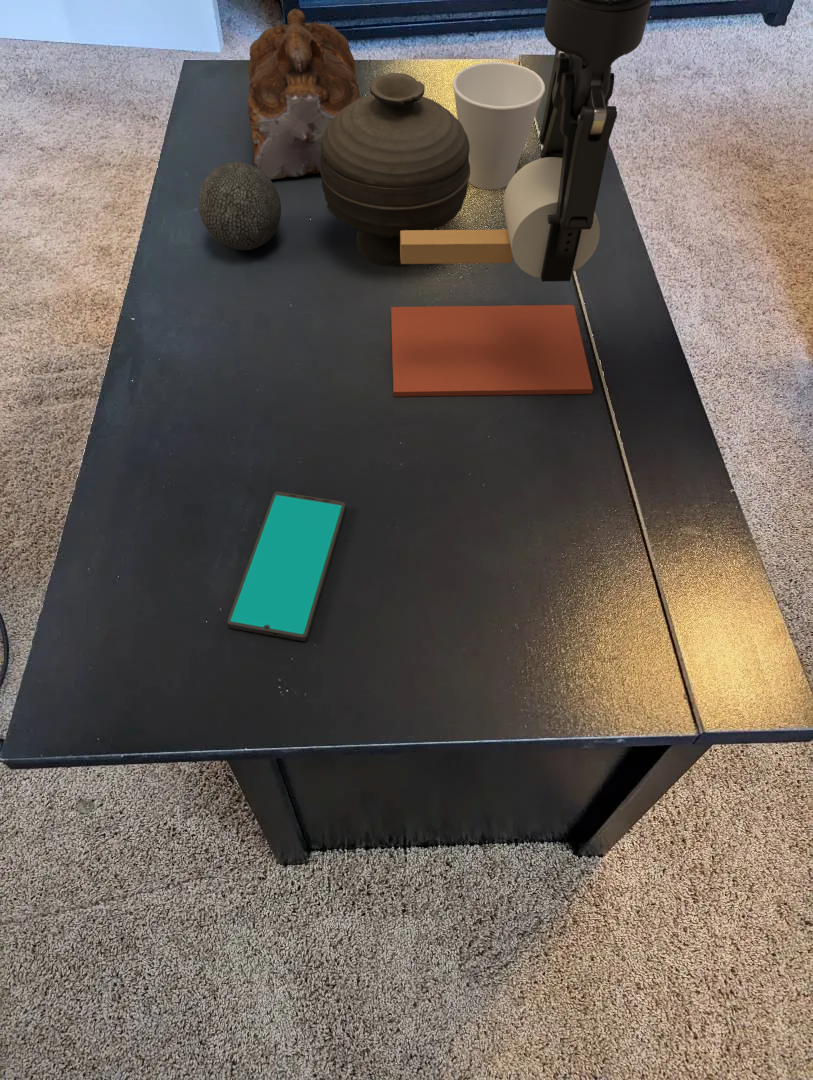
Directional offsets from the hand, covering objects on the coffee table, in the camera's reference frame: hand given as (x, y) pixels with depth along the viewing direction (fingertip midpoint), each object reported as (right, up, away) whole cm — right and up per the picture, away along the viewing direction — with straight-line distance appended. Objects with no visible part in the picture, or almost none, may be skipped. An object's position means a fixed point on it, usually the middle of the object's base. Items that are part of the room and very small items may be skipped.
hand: (549, 253), depth 74 cm
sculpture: (-28, +30, +37) cm, 55 cm away
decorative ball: (-35, +10, +24) cm, 44 cm away
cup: (-2, +23, +33) cm, 41 cm away
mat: (-5, -6, +13) cm, 16 cm away
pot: (-15, +11, +25) cm, 31 cm away
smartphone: (-25, -30, -3) cm, 40 cm away
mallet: (-6, 0, 0) cm, 6 cm away
